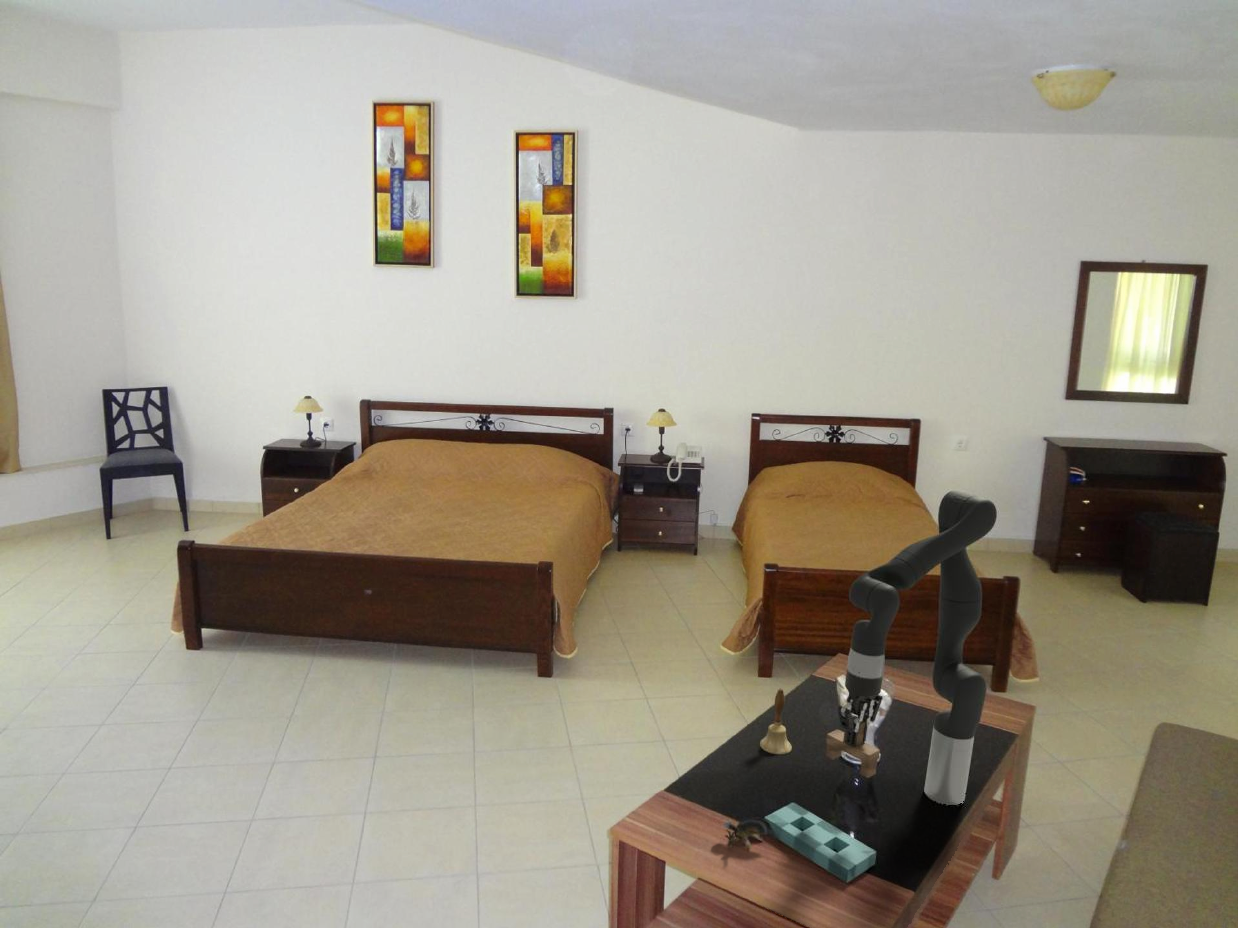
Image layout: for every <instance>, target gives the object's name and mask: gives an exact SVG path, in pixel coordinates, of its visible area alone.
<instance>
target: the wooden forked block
mask: <svg viewBox="0 0 1238 928" xmlns="http://www.w3.org/2000/svg"><path fill="white" fill-rule="evenodd" d="M865 723H866V722H865V721H863V720H862V722H860V724H859V728H858V735H857V743H856V746H855V747H851V746H849V745H847V744H846V735H847V730H846V729H844V731H842V730H840V729H834V731H830V732H827V733H826V739H825V743H826V751H825V757H827V758H828V759H831V760H832V761H834V760H836V759H838V758H840V757H842V752H843V753H846V754H848V755H850V756H852V757H854V758H856V759H857V760H860V761H861V762H860V771H859V775H860V776H863V777H865V778H866V779H869V778H871V777H872V776H874V775H876V774H877V767H878V766H877V765H878V760H879V759H880V753H881V750H880V749H879V748H877V747H875V746H873V745H871V744H869V743H866V741H865V742H863V737H864V729H865ZM854 724H855V721H854V720H853V725H854Z"/></svg>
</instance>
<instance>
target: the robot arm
mask: <svg viewBox="0 0 1238 928" xmlns="http://www.w3.org/2000/svg"><path fill="white" fill-rule="evenodd" d="M937 513H938V514H937V518H938V519H937V523H938V524H937V525H938V534H935V535H932V536H929V537H927V538H923V539H921V540H918V541H916V542H913V543H912V544H911V543H910V544H909V545H907V546H906V547H904V549H902V550H901V551H899V553H897V554H895V556H894V557H893V558H891V559H890V560H889V561H888V562H887V563H884V564H882V565H879V566H877V567H875V568H873V569H871V570H868V571H867V572H864V573H863V574H861V575H860V576H859V577H857V578H856V579H855V580H854V581H853V583H852V584H851V585H850V588H849V593H848V598H849V601H850V602H851V604H853V606H854V607H856V608H858V609H860V610H862V611H864V612H866V613H869V614H871V618H870V620H869V619H868V620H867V619H862V620H861V619H860V620H858V621H856V622H855V623H854V625H853V628H852V635H851V643H850V649H849V653H848V656H847V664H846V665H847V667H846V674H845V681H844V687H845V689H846V691H847V692H848V696H847V699H846V704H845V705H844V706H842V705H839V706H838V708H837V713H838V716H839V722H840V727H841V728H842V729H844V730H845V729H846V730H847V735H846V744H847V745H849V746H851V747H855V746H856V743H857V735H858V728H859V724H860V722H862V720H863V721H865V722H866V723H865V729H864V737H863V742H865V743H866V741H867V735H868V734H867V733H868V727H870V725H871V722H872V723H874V722H875V720H876V718H877V715H878V712H879V709H880V707H881V704H882V701H883V700H884V699H883V695H880V694H881V690H882V684H883V676H884V669H885V653H886V646H887V637H888V634H889V632H890V630H891V627H892V625H893V622H894V620H895V617H896V616H897V613H898V611H899V608H900V604H901V601H900V600H901V598H900V595H899V592H898V591H902V592H903V591H908V590H909V589H911V588H913V587H914V586H915V585H916V584H917V583H918V582H920V580H921V579H923V578H924V577H925V576H926V575H928V573H929V572H931V571H932V570H933V569H934V568H935V567H938V566H940V567H939V568H940V570H939V571H940V574H939V575H940V576H939V577H940V578H939V579H940V580H939V581H940V582H939V591H938V592H939V595H938V596H939V597H938V627H937V640H936V641H937V643H936V650H935V657H934V664H933V669H932V670H933V671H932V687H933V690H934V691H935V693H936V694H938V695H939V696H940V698H943V699H944V700H946V701H947V702H950V703H951V704H952V705H951V709H950V710H944V711H939V712H938V713H935V716H934V721H933V727H932V734H931V741H930V749H929V755H928V756H929V757H928V761H927V768H926V776H925V781H924V783H925V784H924V789H923V791H924V793H925V795H926V796H927V798H929V800H932V801H933V802H935V801H936V802H935V803H937V804H940V803H941V804H940V805H943V804H946V805H945V806H948V805H957V806H959V805H958V804H960V803H962V804H963V803H964V802H965V799H966V794H967V793H966V792H967V786H968V780H969V773H970V767H971V760H972V754H973V747H974V741H975V733H976V730H977V727H978V726H979V724H980V721H981V719H982V713H983V710H984V709H983V708H984V705H985V701H986V697H987V696H986V694H987V683H986V679H985V678H984V676H983V675H981V673H979V672H977V671H975V670H973V669H972V668H970V667H968V666H967V665H965V664H964V660H963V651H964V643H965V642H966V641H965V640H966V639H967V638H968V637H969V635H970V634H971V633H972V631H973V630H974V629H975V627H977V624H978V623H979V621H980V619H981V616H982V611H983V610H982V607H983V588H982V587H983V586H982V583H981V582H980V578H979V576H978V574H977V572H976V570H975V568H974V565H973V563H972V561H971V559H970V557H969V554H968V551H967V547H969V546H971V545H973V544H974V543H977V542H978V541H980V540H981V539H983V538H984V537H985V536H986V535H988V534H989V533H990V532H991V531H992V529H993V528H994V527H995V523H996V521H997V517H998V515H997V514H998V511H997V507H996V505H995V503H994V502H993V501H991V500H990V499H988V498H986V497H983V496H978V495H975V494H970V493H967V492H963V491H958V490H951V491H949V492H947V493H946V494H945V495H943V497H942V499H941V501H940V504H939V507H938V512H937ZM853 720H854V721H855V724H854V725H853ZM965 793H966V794H965ZM963 801H964V802H963Z"/></svg>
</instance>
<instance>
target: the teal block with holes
mask: <svg viewBox="0 0 1238 928" xmlns="http://www.w3.org/2000/svg"><path fill="white" fill-rule="evenodd" d="M764 820H766V821H767V822H769V824H770V825H771V827H772V829H771V831H769V833H768V834H770V835H771V836H773V837H774V838H776V839H778V840H779V841H781V842H782V843H783V844H785V845H787V846H788V847H790V848H791V849H793V850H795V851H796V852H797V853H800V854H801V855H802V856H804V857H806V858H807V859H808V860H810V861H811V862H813V863H815V864H816V865H818V866H819V867H821V868H823V869H824V870H826V871H827V872H829V873H830V874H832V875H834V876H836V878H838V879H839V880H841V881H843V882H844V883H846V884H847V883H849V882H851V881H852V880H854V879H855V878H857V877H858V876H859V875H861V874H863V873H864V872H866V871H867V870H869V869H871V867H873V866H875V865H876V859H877V858H876V857H877V851H876V850H874V849H873V848H871V847H869V846H867V845H866V844H864V843H863V842H861V841H859V840H857V839H856V838H854V837H852V836H850V835H849V834H847V833H846V832H844V831H842V830H841V829H840V828H838V827H836V826H834V825H833V824H830V823H829V822H827V821H825V820H824V819H822V818H820V816H817V815H816V814H814V813H812V812H811V811H809V810H807V809H805V808H804V807H802V806H801V805H798V804H797V803H795V802H793V801H792V802H791V803H788V805H785V806H783V807H781V808H779V809H777V810H776V811H774V812H772V813H770V814H768V815H766V816H764ZM834 850H836V851H834Z"/></svg>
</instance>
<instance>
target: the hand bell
mask: <svg viewBox="0 0 1238 928" xmlns="http://www.w3.org/2000/svg"><path fill="white" fill-rule="evenodd" d="M785 697H786V696H785V693H784V689H783V688H778V690H777V693H776V694H775V697H774V708H775V714H774V715H775V716H774V723H772V724H770V725H768V729H767V733H766V735H765V737H764V738H762V739H761V740H760V742H759V746H760V748H761V749H762V750H763V751H765V752H766V753H769V754H773V755H785V754H789V753H790V752H791V751H792V749H793V747H792V744H791V743H790V742H789V741H788V738H787V737H788V736H787V729H786V727H785V725H782V714H783V711H784V708H785V703H786V698H785Z"/></svg>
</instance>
